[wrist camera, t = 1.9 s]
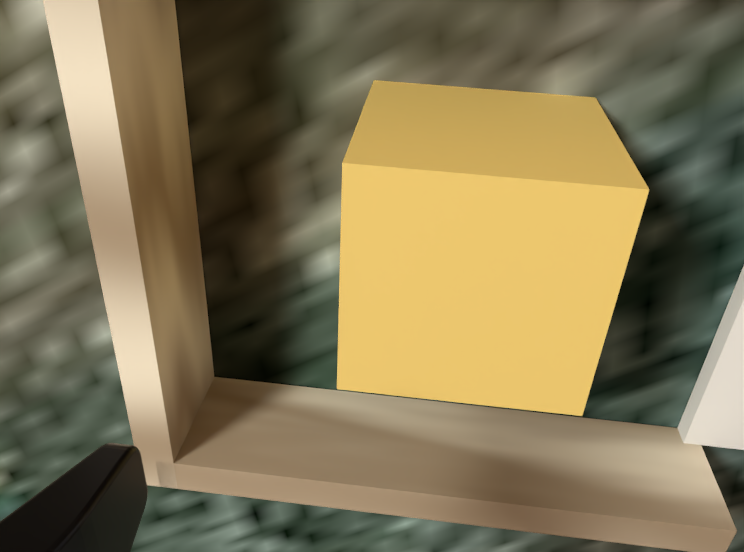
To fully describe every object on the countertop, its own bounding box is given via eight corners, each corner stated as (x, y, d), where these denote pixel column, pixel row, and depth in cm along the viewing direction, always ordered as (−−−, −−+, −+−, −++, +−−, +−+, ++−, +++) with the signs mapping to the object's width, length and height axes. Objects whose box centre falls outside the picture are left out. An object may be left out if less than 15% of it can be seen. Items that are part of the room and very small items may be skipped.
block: (552, 283, 18) (582, 416, 13) (364, 264, 18) (337, 389, 14) (594, 96, 15) (649, 189, 11) (374, 78, 15) (342, 162, 11)
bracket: (684, 453, 20) (723, 555, 17) (186, 397, 21) (142, 484, 18) (961, -192, 11) (1133, -209, 9) (99, -233, 13) (-12, -262, 10)
